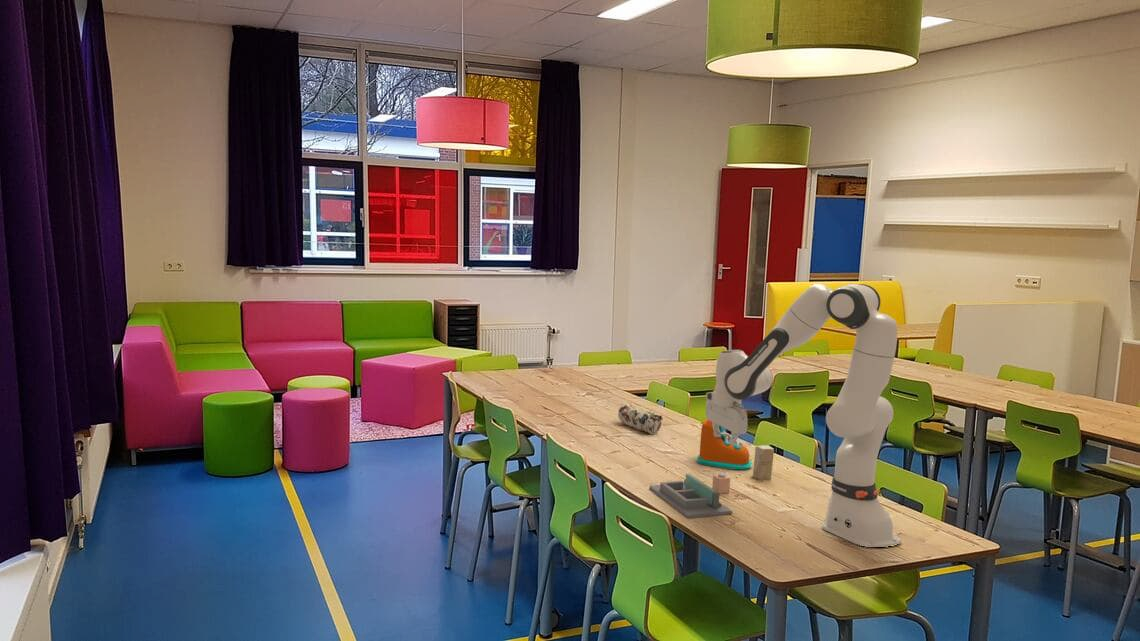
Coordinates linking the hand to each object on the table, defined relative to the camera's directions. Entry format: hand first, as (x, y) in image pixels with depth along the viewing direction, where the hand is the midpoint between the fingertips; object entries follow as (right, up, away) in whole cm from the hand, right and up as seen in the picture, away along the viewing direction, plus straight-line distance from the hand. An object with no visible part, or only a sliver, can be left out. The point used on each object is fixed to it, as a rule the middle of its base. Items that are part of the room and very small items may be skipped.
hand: (724, 440), depth 254 cm
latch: (-9, -16, -8) cm, 20 cm away
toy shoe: (+6, -14, +32) cm, 35 cm away
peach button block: (-1, -17, +2) cm, 17 cm away
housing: (-13, -18, -9) cm, 24 cm away
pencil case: (-21, -7, +76) cm, 79 cm away
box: (+17, -16, +18) cm, 29 cm away
